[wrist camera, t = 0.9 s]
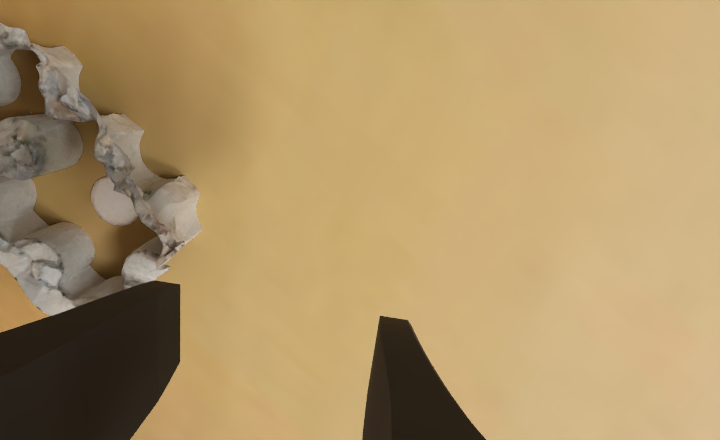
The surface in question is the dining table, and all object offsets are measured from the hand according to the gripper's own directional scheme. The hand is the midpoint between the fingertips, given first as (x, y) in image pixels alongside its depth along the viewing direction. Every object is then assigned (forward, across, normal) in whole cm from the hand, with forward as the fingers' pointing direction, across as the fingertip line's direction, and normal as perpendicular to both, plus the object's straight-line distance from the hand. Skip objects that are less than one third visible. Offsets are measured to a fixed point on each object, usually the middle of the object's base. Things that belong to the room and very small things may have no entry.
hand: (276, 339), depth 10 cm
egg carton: (+10, +11, 0) cm, 15 cm away
